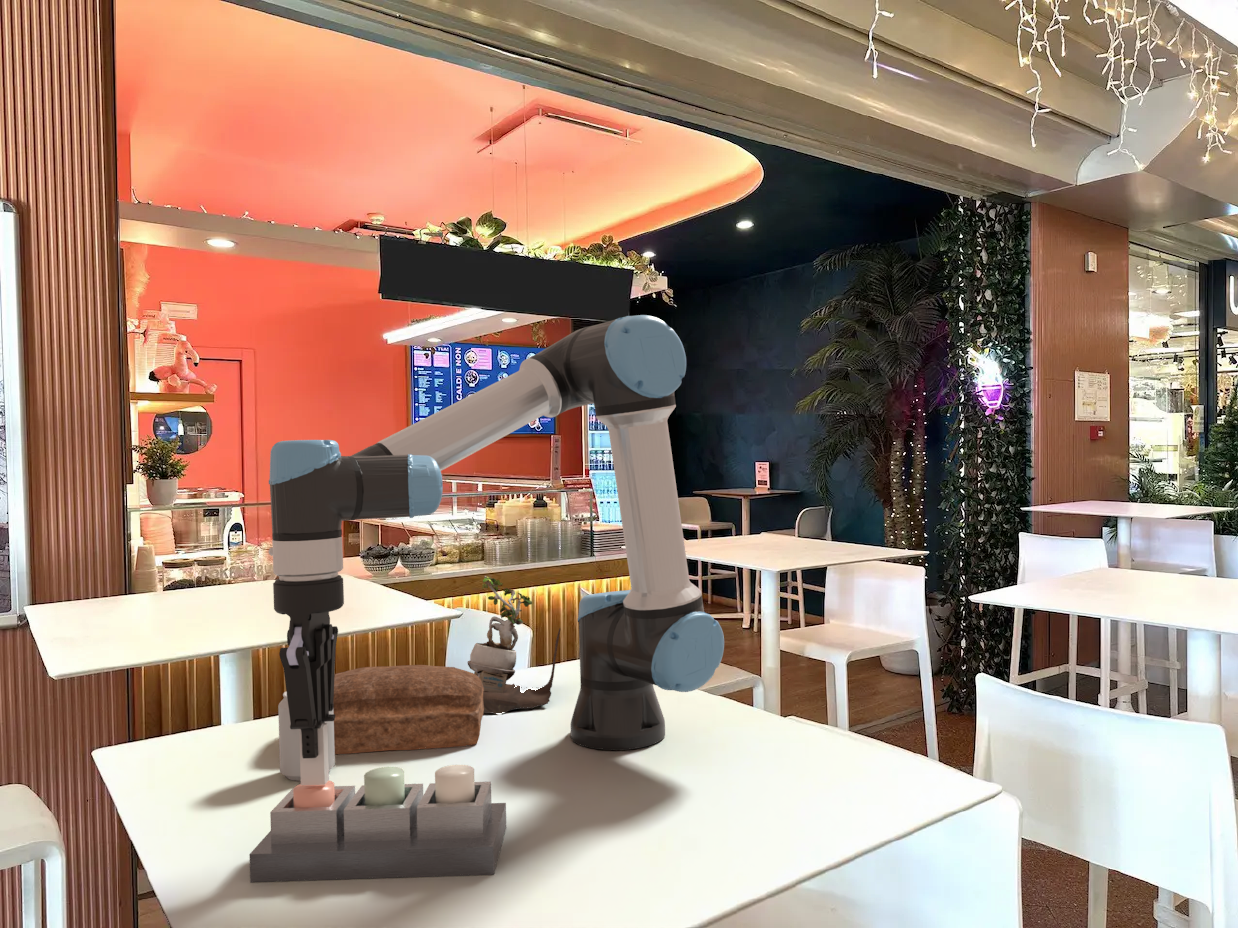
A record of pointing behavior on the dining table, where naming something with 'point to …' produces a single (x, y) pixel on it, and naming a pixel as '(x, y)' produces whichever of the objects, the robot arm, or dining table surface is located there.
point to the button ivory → (455, 784)
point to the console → (381, 838)
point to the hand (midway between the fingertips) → (315, 782)
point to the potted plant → (504, 660)
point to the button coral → (314, 795)
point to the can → (296, 743)
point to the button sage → (384, 786)
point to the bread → (406, 708)
